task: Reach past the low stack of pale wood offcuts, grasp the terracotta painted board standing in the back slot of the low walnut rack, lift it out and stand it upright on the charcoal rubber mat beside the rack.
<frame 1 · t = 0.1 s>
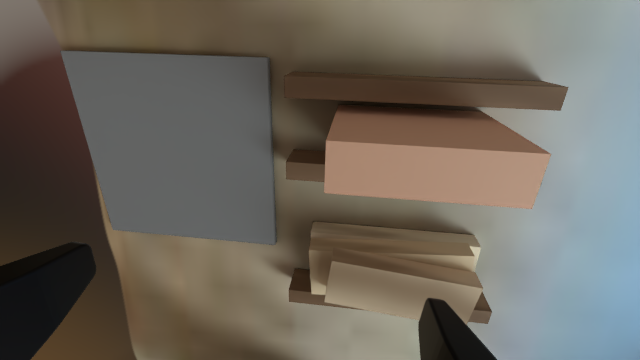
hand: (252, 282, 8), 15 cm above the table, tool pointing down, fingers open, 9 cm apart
terracotta board: (405, 127, 21), on the table
walnut rack: (396, 195, 23), on the table
charcoal mat: (181, 154, 23), on the table
offcut stack: (388, 251, 25), on the table
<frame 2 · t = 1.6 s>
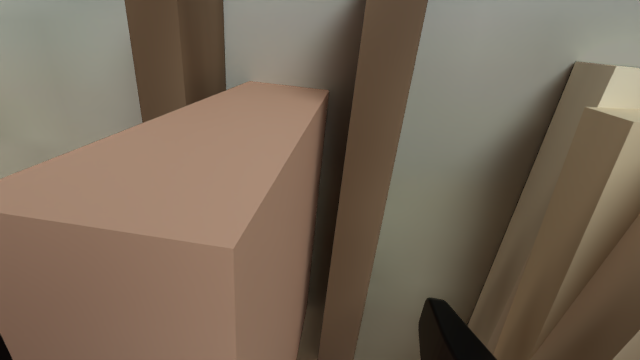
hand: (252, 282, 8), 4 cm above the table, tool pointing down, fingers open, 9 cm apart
terracotta board: (282, 210, 12), on the table
walnut rack: (420, 231, 11), on the table
offcut stack: (566, 253, 11), on the table
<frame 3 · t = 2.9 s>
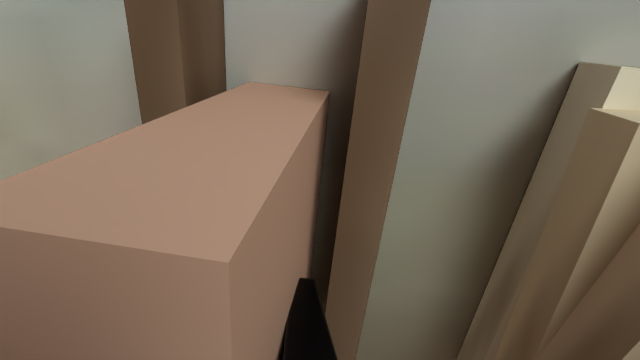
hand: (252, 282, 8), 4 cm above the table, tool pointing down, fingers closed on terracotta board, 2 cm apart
terracotta board: (282, 213, 11), on the table, touching gripper
walnut rack: (421, 233, 11), on the table
offcut stack: (569, 254, 11), on the table
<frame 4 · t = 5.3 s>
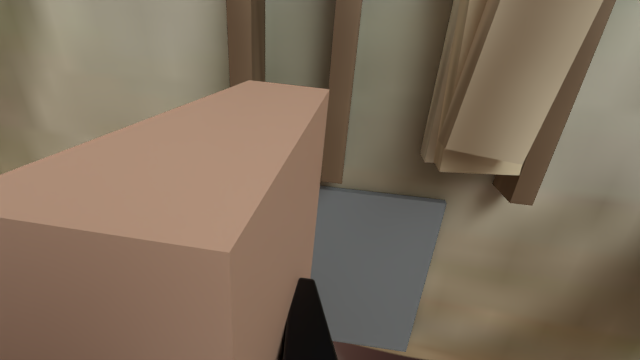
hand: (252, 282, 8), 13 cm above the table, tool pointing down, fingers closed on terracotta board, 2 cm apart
terracotta board: (282, 211, 12), point 9 cm above the table, touching gripper
walnut rack: (390, 44, 17), on the table
charcoal mat: (329, 269, 24), on the table
offcut stack: (484, 52, 17), on the table
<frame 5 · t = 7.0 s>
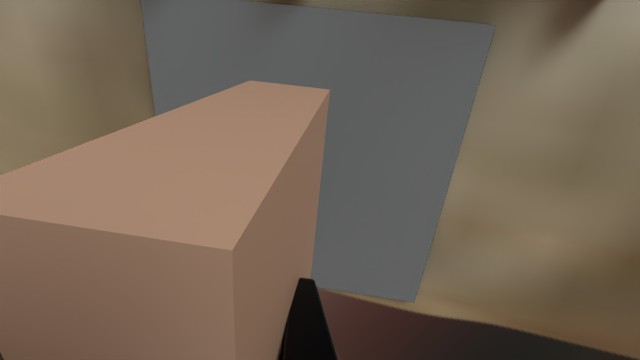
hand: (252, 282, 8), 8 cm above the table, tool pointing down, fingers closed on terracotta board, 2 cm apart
terracotta board: (283, 211, 12), point 4 cm above the table, touching gripper
charcoal mat: (300, 168, 16), on the table
when the fingers open (5 cm above the table, at t = 8.2 s): terracotta board stays where it is, resting on charcoal mat.
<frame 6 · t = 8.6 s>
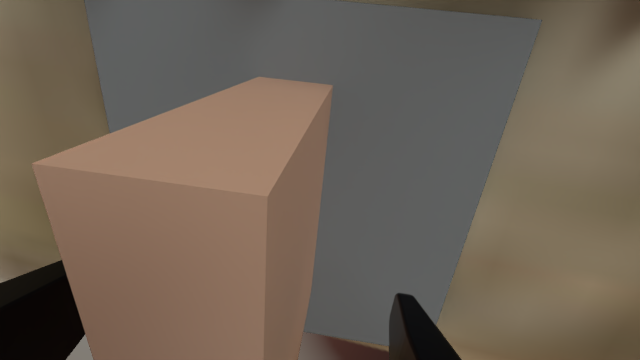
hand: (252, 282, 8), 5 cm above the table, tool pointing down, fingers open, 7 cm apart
terracotta board: (288, 200, 12), resting on charcoal mat
charcoal mat: (290, 196, 13), on the table
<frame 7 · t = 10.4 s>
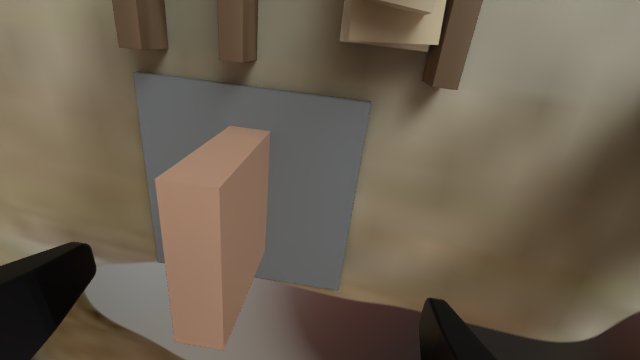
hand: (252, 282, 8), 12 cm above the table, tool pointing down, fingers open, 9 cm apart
terracotta board: (249, 193, 21), resting on charcoal mat
charcoal mat: (250, 191, 21), on the table
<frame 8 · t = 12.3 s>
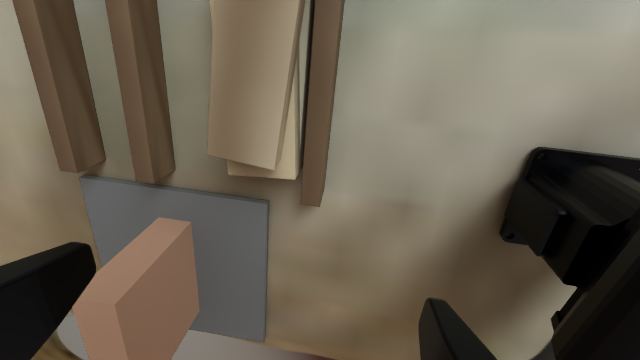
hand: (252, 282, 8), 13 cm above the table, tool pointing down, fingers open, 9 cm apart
terracotta board: (180, 267, 25), resting on charcoal mat
walnut rack: (191, 58, 19), on the table
charcoal mat: (183, 263, 26), on the table
offcut stack: (272, 67, 19), on the table
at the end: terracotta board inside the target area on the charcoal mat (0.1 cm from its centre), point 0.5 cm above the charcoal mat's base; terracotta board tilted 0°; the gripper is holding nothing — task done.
